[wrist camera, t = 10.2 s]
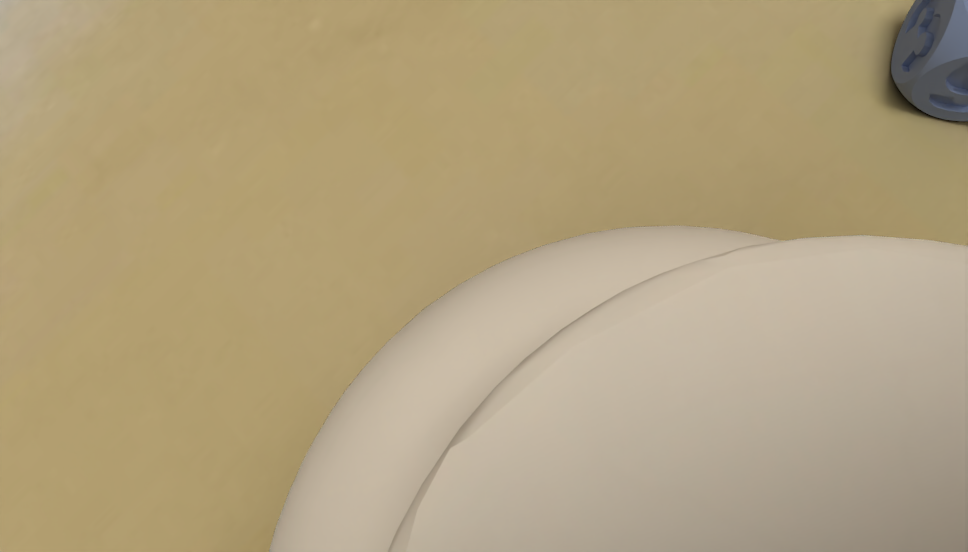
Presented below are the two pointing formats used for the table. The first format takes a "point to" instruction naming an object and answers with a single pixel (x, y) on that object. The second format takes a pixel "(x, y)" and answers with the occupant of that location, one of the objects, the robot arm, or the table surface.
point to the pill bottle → (660, 404)
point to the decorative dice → (934, 58)
